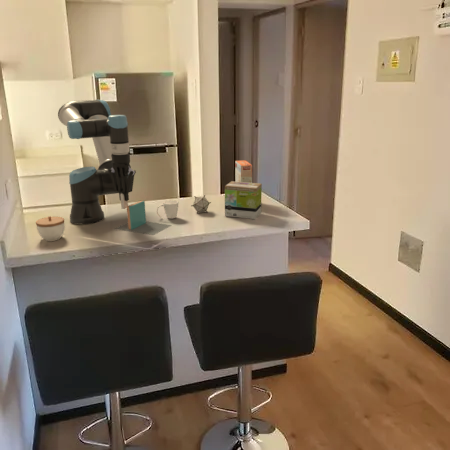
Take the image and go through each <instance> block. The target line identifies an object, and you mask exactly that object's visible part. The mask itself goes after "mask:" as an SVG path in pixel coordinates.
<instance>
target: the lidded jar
mask: <svg viewBox="0 0 450 450" xmlns="http://www.w3.org/2000/svg"><path fill="white" fill-rule="evenodd" d="M35 226H36V230H37V233H38V234H39V236H40V237H41V239H44V241H46V242H54V241H58V240H60V239H61V237H62V236H63V234H64V233H65V228H66V227H65V226H66V225H65V219H64V217H63V216H51V215H49V216H47V217H42V218H39V219H37V220H36V221H35Z"/></svg>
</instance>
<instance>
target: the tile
mask: <svg viewBox="0 0 450 450" xmlns="http://www.w3.org/2000/svg"><path fill="white" fill-rule="evenodd" d="M126 214H127V223H128V228H129V229H131V230H133V229H135V228H137V227H139V226H141V225H143V224H145V223H146V221H147V218H146V217H147V216H146V203H145V200H140V201H139V200H138V201H136V202H134V203H131V204H128V206H127V208H126Z"/></svg>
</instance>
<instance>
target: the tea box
mask: <svg viewBox="0 0 450 450" xmlns="http://www.w3.org/2000/svg"><path fill="white" fill-rule="evenodd" d="M262 186H263V184H262V183H259V182H252V183H247V182H235V181H233V180H231V181H230V182H229V183H227V184H225V185H224V216H225V217H234V218H240V219H241V218H242V219H249V220H250V219H251V220H257V218H258V217H260V215H261V214H262V195H263V194H262V193H263V192H262V189H263V188H262Z"/></svg>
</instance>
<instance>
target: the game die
mask: <svg viewBox="0 0 450 450" xmlns="http://www.w3.org/2000/svg"><path fill="white" fill-rule="evenodd" d="M211 203H212V201H211V202H209V200H208V199H207V197H206V194H205V195H204V194H203V196H194V200H193V204H192V205H190V207H193V208H194V210H195V211H196V214H199V213H204V212H206V213H207V214H208V213H209V212H208V208H209V206H210V204H211Z"/></svg>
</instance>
